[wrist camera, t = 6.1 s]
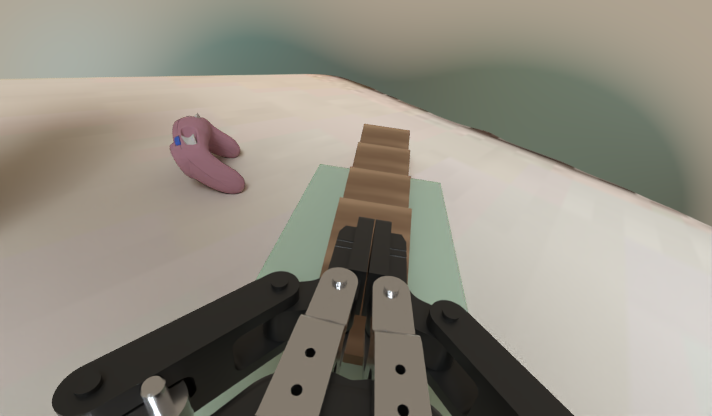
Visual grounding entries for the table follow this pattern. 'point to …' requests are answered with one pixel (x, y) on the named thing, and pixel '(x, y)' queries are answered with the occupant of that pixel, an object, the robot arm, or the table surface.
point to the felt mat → (309, 244)
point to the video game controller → (205, 154)
